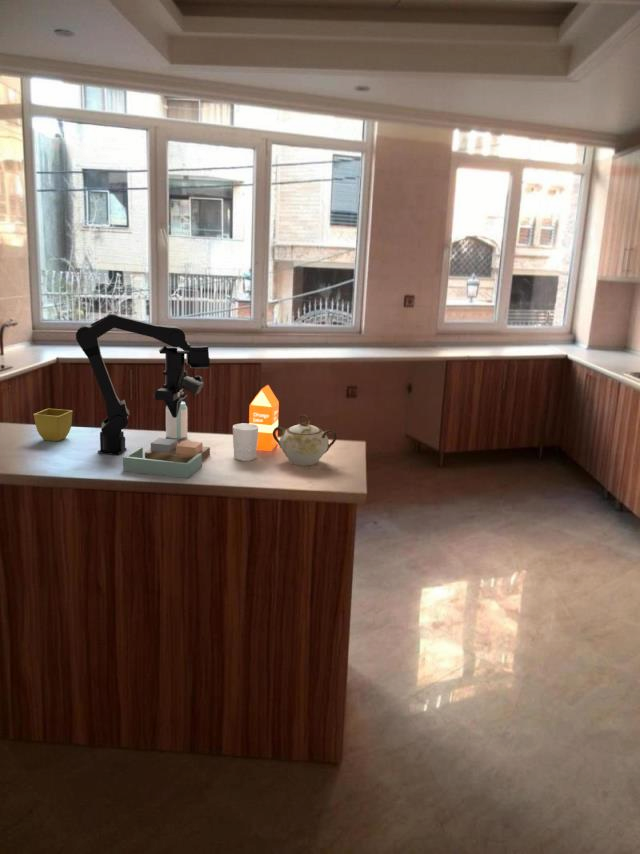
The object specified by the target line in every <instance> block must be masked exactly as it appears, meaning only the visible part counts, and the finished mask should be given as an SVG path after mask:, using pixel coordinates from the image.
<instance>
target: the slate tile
mask: <svg viewBox="0 0 640 854" xmlns="http://www.w3.org/2000/svg"><path fill="white" fill-rule="evenodd" d="M178 440H179V439H170V438H166V437H165V438H164V437H158V438H155V440H153V441H151V442H150V449H151V451H155V452H164V453H171V452H172V451H174V450H175V449H176V446H177V445H178V444H179V442H178Z"/></svg>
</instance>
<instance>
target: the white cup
mask: <svg viewBox="0 0 640 854" xmlns="http://www.w3.org/2000/svg"><path fill="white" fill-rule="evenodd" d="M258 430H259V427H258V426H257V425H255V424H249V422H248V423H245V422H244V423H243V422H242V423H236V424H233V425H232V444H233V448H232V449H233V457H234V459H235V460H237V461H243V462H246V461H247V462H248V461H253V460H255V459H256V458H257V451H258V450H257V443H258Z"/></svg>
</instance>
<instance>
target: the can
mask: <svg viewBox="0 0 640 854" xmlns="http://www.w3.org/2000/svg"><path fill="white" fill-rule="evenodd" d="M165 436H166V437H167V439H174V440H184V439H185V438H186V437H188V406H187V405H186V402H185V401H183V400H182V402H181V405H180V408H179V412H178V415H177V417H176V418H173V417H172V415H171V413H170V410H169V408H168V406H167V405H166V406H165Z"/></svg>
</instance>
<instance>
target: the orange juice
mask: <svg viewBox="0 0 640 854" xmlns="http://www.w3.org/2000/svg"><path fill="white" fill-rule="evenodd" d="M279 403H280V402H279V400H278V398H277V397H276V395H275V393H274V392H273V390H272V389H271V387H270V385H269V384H267V385H265V386H264V387H262V388H261V389H260V390H259V392H258V393H257V394H256V396H255V397H254V399H253V400H252V401H251V403H250V404H249V411H248V412H249V415H248V416H249V417H248V421H249V422H248V424H255V425H257V426H258V427H259V430H258V443H257V450H256V451H258V450H259V451H267V452H271V451H272V450H273V449H274V448H275V447H276V446H277V445H278V443H277V441H276V440H275V439H274V437H273V430H274V429H275V428H276V427H279V409H280V408H279V406H280V404H279ZM278 431H279V430H277V431H276V437H277V438H278V436H279V434H278Z"/></svg>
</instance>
